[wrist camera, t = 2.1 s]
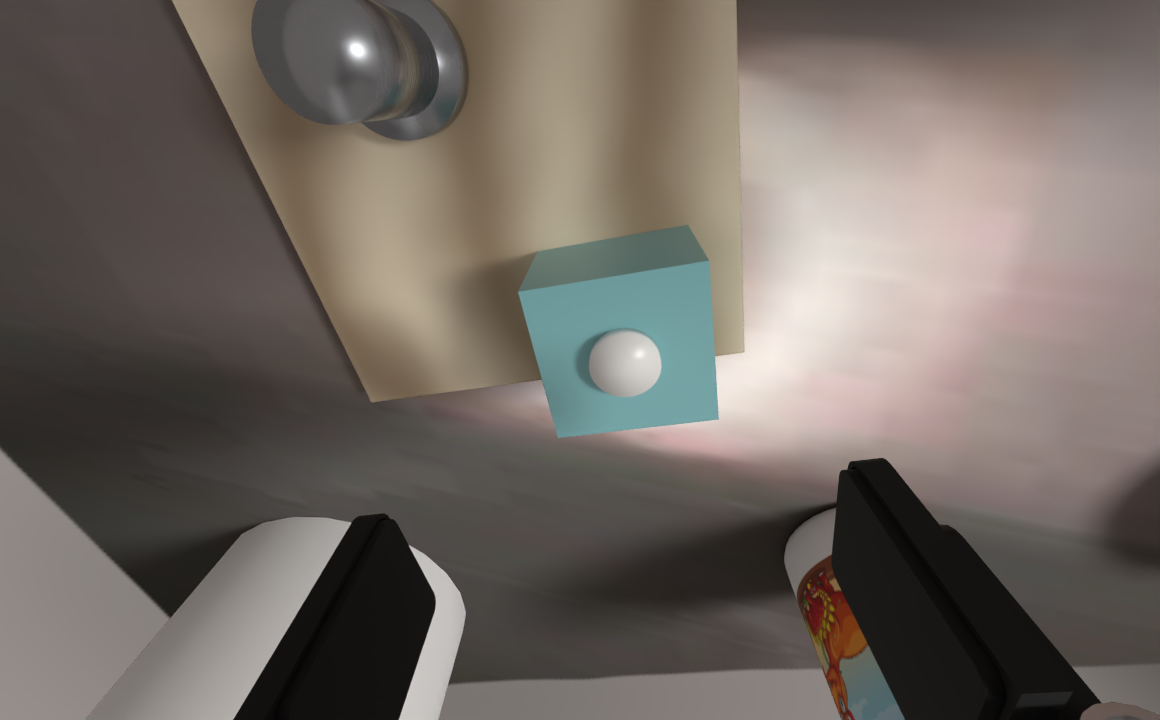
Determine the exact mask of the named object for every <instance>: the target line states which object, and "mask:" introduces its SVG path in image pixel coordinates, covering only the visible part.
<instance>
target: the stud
mask: <svg viewBox="0 0 1160 720" xmlns="http://www.w3.org/2000/svg"><path fill="white" fill-rule="evenodd" d="M251 35H252V43H253V49H254V52H255V56H256V59H257V62H258V65H259V67H260V69H261V71H262V73H263V75H264V77H265V79H266V81H267V82H268V84H269V86H270V87H271V88H272V90H273V91H274V92H275V94H276V95H277V96H278V97H279V98H280V99H281V100H282V101H283V102H284V103H285V104H286V105H287V106H288V107H289V108H290V109H292V110H293V111H294V112H296V113H297V114H299V115H301V116H302V117H304V118H306V119H308V120H311V121H313V122H316V123H320V124H326V125H340V124H350V123H360V122H361V123H362V124H363V125H365V126H366V127H367V128H369V129H370V130H372V131H374V132H375V133H377V134H379V135H382V136H384V137H387V138H390V139H394V140H400V141H411V140H418V139H422V138H427V137H430V136H434V135H436V134H438V133H440V132H442V131H443V130H445V129H446V128H448V127H449V126H450V125H451V124H452V123H453V122H454V120H455V119H456V118H457V116H458V115H459V113H460V111H461V110H462V107H463V105H464V102H465V99H466V96H467V92H468V84H469V69H468V61H467V56H466V52H465V48H464V45H463V42H462V40H461V38H460V35H459V33H458V31H457V29H456V28H455V26H454V24H453V23H452V21H451V20H450V18H449V17H448V16H447V14H446V13H445V12H444V11H443V10H442V9H441V8H440V7H439V6H438V5H437V4H436V3H435V2H434V1H432V0H257V1H256V4H255V7H254V10H253V15H252V22H251Z"/></svg>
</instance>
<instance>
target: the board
mask: <svg viewBox="0 0 1160 720" xmlns="http://www.w3.org/2000/svg"><path fill="white" fill-rule="evenodd" d="M172 1H173V3H174V6H175V8H176V10H177V12H178V14H179V16H180V18H181V20H182V22H183V24H184V26H185V28H186V30H187V32H188V34H189V36H190V38H191V40H192V42H193V44H194V46H195V48H196V50H197V52H198V54H199V56H200V58H201V60H202V62H203V64H204V66H205V68H206V70H207V72H208V74H209V76H210V78H211V80H212V82H213V84H214V86H215V88H216V90H217V92H218V94H219V96H220V98H221V100H222V102H223V104H224V106H225V108H226V110H227V112H228V114H229V116H230V118H231V120H232V122H233V124H234V126H235V128H236V130H237V132H238V134H239V136H240V138H241V140H242V142H243V145H244V147H245V149H246V151H247V153H248V155H249V157H250V159H251V161H252V163H253V165H254V167H255V169H256V171H257V173H258V175H259V177H260V179H261V181H262V183H263V185H264V187H265V189H266V191H267V193H268V195H269V197H270V199H271V201H272V203H273V205H274V207H275V209H276V211H277V213H278V215H279V217H280V219H281V221H282V223H283V225H284V227H285V229H286V231H287V233H288V235H289V237H290V239H291V241H292V243H293V245H294V247H295V249H296V251H297V253H298V255H299V257H300V259H301V261H302V263H303V265H304V267H305V269H306V271H307V273H308V275H309V277H310V279H311V281H312V283H313V286H314V288H315V290H316V292H317V294H318V296H319V298H320V300H321V302H322V304H323V306H324V308H325V310H326V312H327V314H328V316H329V318H330V320H331V322H332V324H333V326H334V328H335V330H336V332H337V334H338V336H339V338H340V340H341V342H342V344H343V346H344V348H345V350H346V352H347V354H348V356H349V358H350V360H351V362H352V364H353V366H354V368H355V370H356V372H357V374H358V376H359V378H360V380H361V382H362V384H363V386H364V388H365V390H366V392H367V394H368V396H369V398H370V400H371V402H378V401H386V400H393V399H401V398H408V397H416V396H423V395H430V394H438V393H445V392H453V391H460V390H468V389H475V388H483V387H490V386H497V385H505V384H512V383H520V382H527V381H535V380H542V378H541V374H540V371H539V367H538V363H537V360H536V356H535V352H534V349H533V345H532V341H531V338H530V334H529V330H528V327H527V323H526V319H525V316H524V312H523V308H522V305H521V301H520V297H519V294H518V291H519V289H520V287H521V285H522V283H523V281H524V279H525V276H526V274H527V272H528V270H529V268H530V266H531V264H532V262H533V260H534V258H535V256H536V254H537V251H542V250H547V249H553V248H559V247H564V246H570V245H576V244H582V243H587V242H593V241H599V240H604V239H610V238H616V237H621V236H627V235H633V234H638V233H644V232H650V231H655V230H661V229H667V228H672V227H678V226H684V225H688V226H689V227H690V229H691V231H692V232H693V234H694V236H695V237H696V239H697V241H698V242H699V244H700V246H701V248H702V249H703V251H704V253H705V254H706V256H707V258H708V259H709V264H710V281H711V298H712V315H713V332H714V349H715V356H721V355H728V354H736V353H743V352H744V309H743V266H742V222H741V179H740V135H739V92H738V48H737V5H736V0H432V1H434V2H435V3H436V4H437V5H438V6H439V7H440V8H441V9H442V10H443V11H444V12H445V13H446V14H447V16H448V17H449V18H450V20H451V21H452V23H453V24H454V26H455V28H456V29H457V31H458V33H459V35H460V38H461V40H462V42H463V45H464V48H465V52H466V56H467V61H468V69H469V84H468V92H467V96H466V99H465V102H464V105H463V107H462V110H461V111H460V113H459V115H458V116H457V118H456V119H455V120H454V122H453V123H452V124H451V125H450V126H449V127H448V128H446V129H445V130H443V131H442V132H440V133H438V134H436V135H434V136H430V137H427V138H422V139H418V140H411V141H400V140H394V139H390V138H387V137H384V136H382V135H379V134H377V133H375V132H374V131H372V130H370V129H369V128H367V127H366V126H365V125H363V124H362V123H361V122H360V123H350V124H340V125H326V124H320V123H316V122H313V121H311V120H308V119H306V118H304V117H302V116H301V115H299V114H297V113H296V112H294V111H293V110H292V109H290V108H289V107H288V106H287V105H286V104H285V103H284V102H283V101H282V100H281V99H280V98H279V97H278V96H277V95H276V94H275V92H274V91H273V90H272V88H271V87H270V86H269V84H268V82H267V81H266V79H265V77H264V75H263V73H262V71H261V69H260V67H259V65H258V62H257V59H256V56H255V52H254V49H253V43H252V35H251V22H252V15H253V10H254V7H255V4H256V1H257V0H172Z"/></svg>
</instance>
